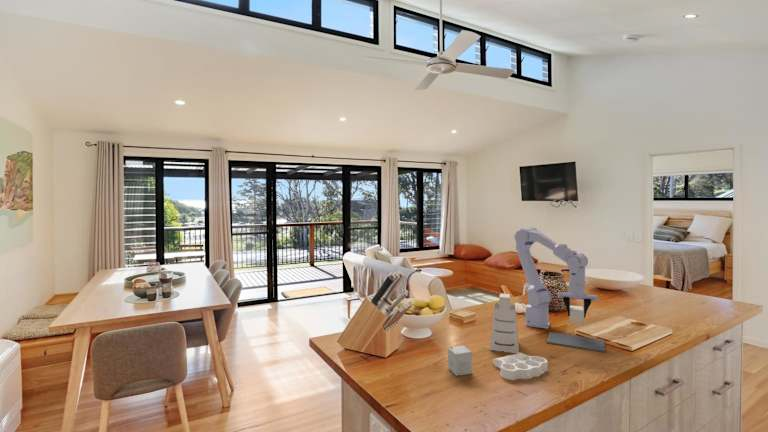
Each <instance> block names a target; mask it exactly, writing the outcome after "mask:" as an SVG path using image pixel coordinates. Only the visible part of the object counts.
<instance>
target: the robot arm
mask: <svg viewBox="0 0 768 432" xmlns="http://www.w3.org/2000/svg"><path fill="white" fill-rule="evenodd" d="M513 237H514V240H515V250H516V253H517V256H518V259H519V262H520V265H521V267H522V270H523V273H524V276H525V278H526V280H527V284H528V287H527V290H526V294H527V300H528V303H529V304H528V303H527V304H526V305H525V324H524V325H525V326H526V327H532V328H541V329H547V330H548V329H549V328H550V324H551V322H549V305H550V302H551V301H552V298H553V296H552V292H550V291H549V289H548V288H547V285H545V284H544V283H542V280H541V278H540V275H539V273H538V270H537V267H536V264H535V262H534V258H533V256H532V253H531V251H530V249H531V247H532V246H533V245H534V243H536V242H537V243H539V244H541V245H543V246H544V247H546V248H548V249H549V250H550V251H552V253H553V255H554V256H555V257H557V258H558V259H560V260H562V261H563V262H564V263H566V266H567V267H568V271H569V273H568V274H569V276H568V277H569V281H568V283H569V285H568V286H569V287H568V291H565V292H564V291H561V292H560V291H557V293H556V295H557V296H556V297H557V298H562V301H563V303H564V305H565V308H566V311H567V316H568V317H570V303H571V302H570V301H571V299H575V300H576V299H577V300H583V309H584V319H585V318H586V315H587V311H588V310H589V307H590V306H591V304H592V301H594V302H597V301H598V295H597V294H596V295H595V294H590V293H589V294H588V293H585V292H586V291H585V289H586V267H587V266H588V265H589V260H588V257H587V256H586V255H585V254H584V253H578V252H577V250H573V249H571V248H570V247H569V246H568V244H566V243H564V244H563V243H559V244H558V243H556V242H555V241H554V240H553V239H551V238H549V237H548V236H547V235H545V234H544V233H543V232H542V231H541V230H538V229H537V228H536V227H527V228H519V229H517V231H516V232H515V234H514V236H513Z"/></svg>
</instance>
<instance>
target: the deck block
mask: <svg viewBox="0 0 768 432" xmlns="http://www.w3.org/2000/svg"><path fill="white" fill-rule="evenodd" d="M569 322H570V323H575V324H584V323H585V318H584V306H582V305H581V306H580V305H579V306H578V305H570V316H569Z"/></svg>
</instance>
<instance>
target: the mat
mask: <svg viewBox="0 0 768 432" xmlns="http://www.w3.org/2000/svg"><path fill="white" fill-rule="evenodd" d="M546 344H552V345H557V346H562V347H569V348H575V349H583V350H587V351H588V350H589V351H594V352H602V353H606V347H605V340H604V339H600V338H593V337H587V336H586V337H585V336H582V335H581V336H580V335H572V334H567V333H566V334H565V333H559V332H551V331H549V332H548V335H547V339H546Z"/></svg>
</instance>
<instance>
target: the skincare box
mask: <svg viewBox="0 0 768 432" xmlns="http://www.w3.org/2000/svg"><path fill="white" fill-rule="evenodd" d="M447 358H448V359H447V361H448V363H447V364H448V365H447V366H448V368H449V369H450V370H451V371H452V374H454V376H455V377H459V376H458V375H460V376H464V375H471V374H473V352H472V351H471V350H470V349H469V348H467V347H466V346H465V345H456V346H451V347H448V348H447ZM448 368H447V369H448ZM449 369H448V370H449ZM450 370H449V371H450ZM451 371H450V372H451Z"/></svg>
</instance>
